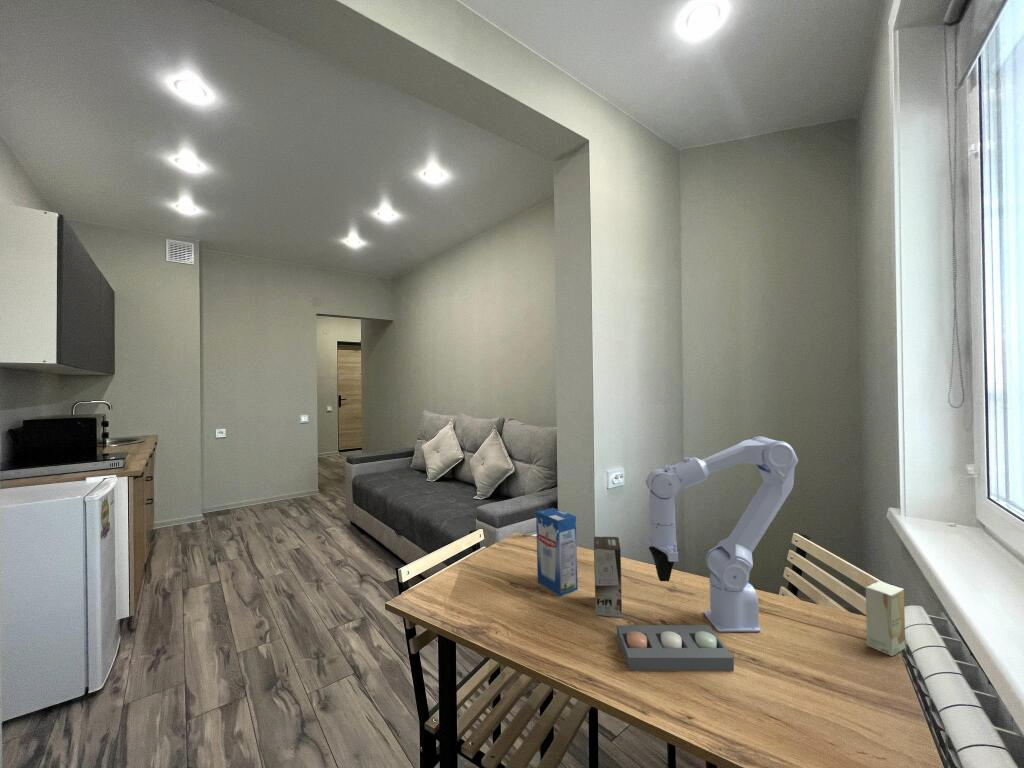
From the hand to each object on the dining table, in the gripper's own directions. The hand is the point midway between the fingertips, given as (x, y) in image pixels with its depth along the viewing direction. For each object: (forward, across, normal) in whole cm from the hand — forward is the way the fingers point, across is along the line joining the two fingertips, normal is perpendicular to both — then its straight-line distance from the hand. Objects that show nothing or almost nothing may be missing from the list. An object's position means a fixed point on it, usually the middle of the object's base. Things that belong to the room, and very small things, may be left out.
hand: (663, 579), depth 98 cm
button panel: (+9, +12, -2) cm, 15 cm away
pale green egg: (+9, +12, +4) cm, 16 cm away
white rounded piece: (+9, +12, -2) cm, 15 cm away
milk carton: (+10, -17, -24) cm, 31 cm away
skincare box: (+10, +10, +42) cm, 44 cm away
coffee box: (+10, -6, -12) cm, 16 cm away
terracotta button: (+9, +12, -10) cm, 18 cm away
